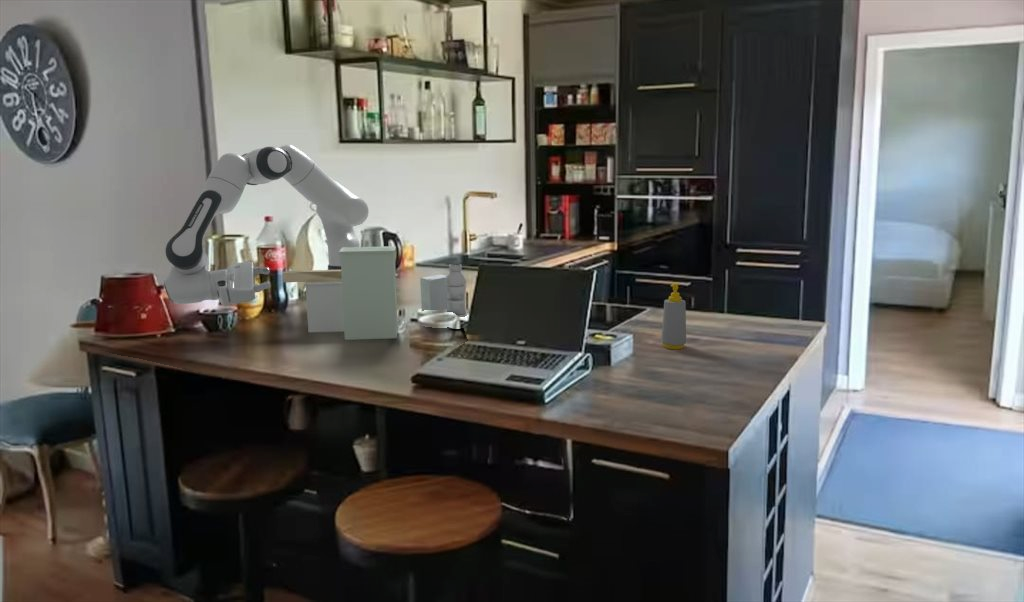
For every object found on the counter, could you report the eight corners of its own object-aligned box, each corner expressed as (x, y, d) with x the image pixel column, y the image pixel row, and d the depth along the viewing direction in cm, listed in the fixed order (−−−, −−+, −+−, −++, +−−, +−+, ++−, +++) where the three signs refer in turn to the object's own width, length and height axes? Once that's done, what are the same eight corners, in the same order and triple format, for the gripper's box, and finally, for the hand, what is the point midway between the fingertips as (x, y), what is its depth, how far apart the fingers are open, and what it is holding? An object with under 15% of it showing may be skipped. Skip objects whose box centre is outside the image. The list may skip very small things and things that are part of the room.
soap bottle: (657, 348, 221) (659, 284, 217) (665, 342, 227) (666, 280, 223) (682, 350, 217) (684, 285, 214) (689, 345, 223) (691, 282, 220)
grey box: (312, 325, 253) (309, 278, 250) (352, 324, 254) (350, 277, 251) (307, 332, 243) (304, 283, 240) (349, 331, 244) (346, 282, 241)
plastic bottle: (467, 331, 242) (465, 266, 238) (444, 331, 242) (443, 266, 239) (468, 326, 249) (467, 263, 245) (446, 327, 249) (445, 263, 245)
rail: (284, 280, 246) (284, 271, 245) (364, 278, 248) (363, 269, 248) (283, 282, 243) (282, 272, 242) (363, 280, 245) (362, 270, 245)
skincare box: (442, 318, 261) (441, 273, 258) (453, 321, 256) (452, 276, 253) (420, 322, 255) (419, 276, 253) (431, 325, 251) (429, 279, 248)
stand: (346, 332, 243) (342, 247, 238) (398, 330, 244) (395, 246, 239) (343, 340, 233) (339, 251, 228) (397, 338, 235) (394, 250, 230)
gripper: (225, 277, 252) (270, 271, 256) (224, 309, 235) (272, 302, 239) (221, 259, 249) (267, 253, 252) (219, 290, 232) (268, 283, 235)
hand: (269, 277), depth 245 cm, fingers open, 8 cm apart
